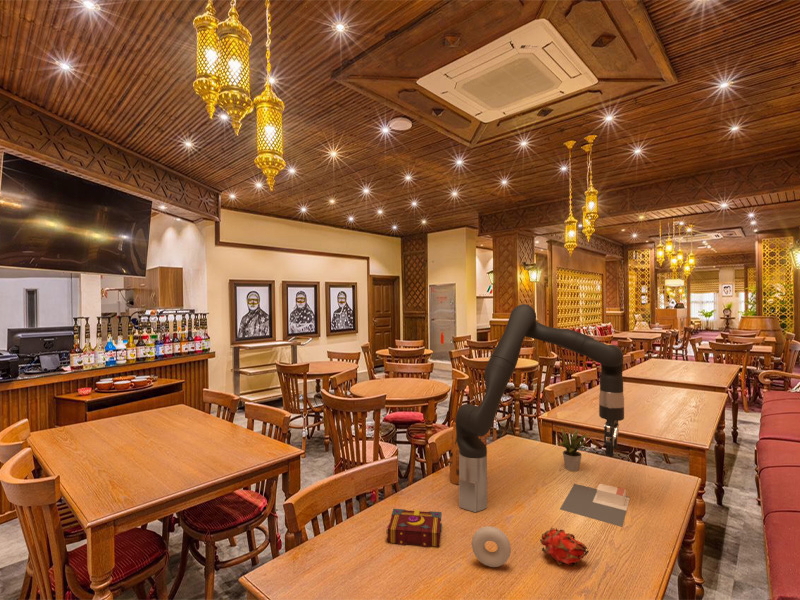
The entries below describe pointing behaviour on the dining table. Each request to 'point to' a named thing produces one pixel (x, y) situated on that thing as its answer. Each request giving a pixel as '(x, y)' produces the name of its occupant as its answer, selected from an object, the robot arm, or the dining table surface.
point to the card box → (611, 494)
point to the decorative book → (415, 528)
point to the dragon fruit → (563, 547)
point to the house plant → (572, 450)
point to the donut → (486, 556)
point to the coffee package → (454, 458)
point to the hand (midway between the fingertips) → (611, 451)
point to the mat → (593, 506)
